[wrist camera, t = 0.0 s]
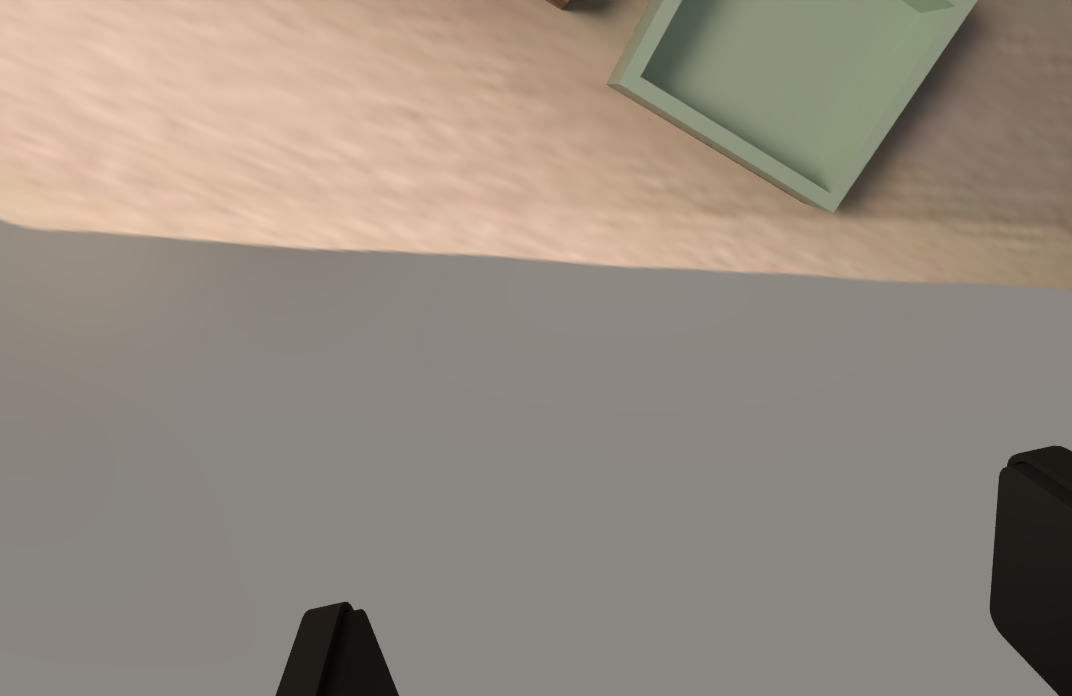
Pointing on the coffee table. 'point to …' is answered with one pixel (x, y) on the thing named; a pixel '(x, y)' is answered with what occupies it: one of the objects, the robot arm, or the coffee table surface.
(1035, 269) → the coffee table surface
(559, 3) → the block
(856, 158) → the tray
